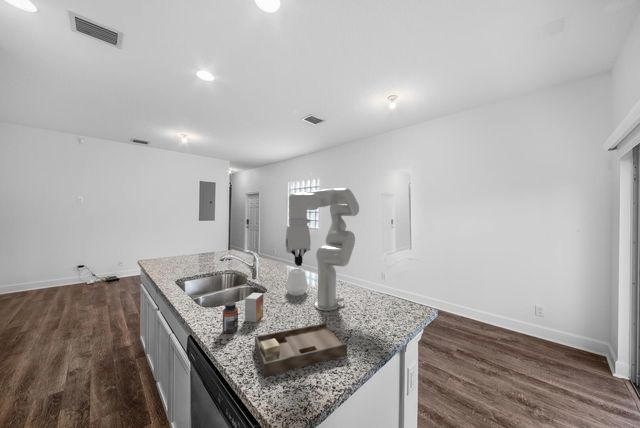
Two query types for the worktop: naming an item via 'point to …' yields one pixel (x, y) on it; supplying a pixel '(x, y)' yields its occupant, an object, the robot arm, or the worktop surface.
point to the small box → (254, 307)
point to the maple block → (270, 348)
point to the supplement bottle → (230, 318)
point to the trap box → (300, 348)
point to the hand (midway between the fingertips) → (298, 265)
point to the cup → (296, 282)
